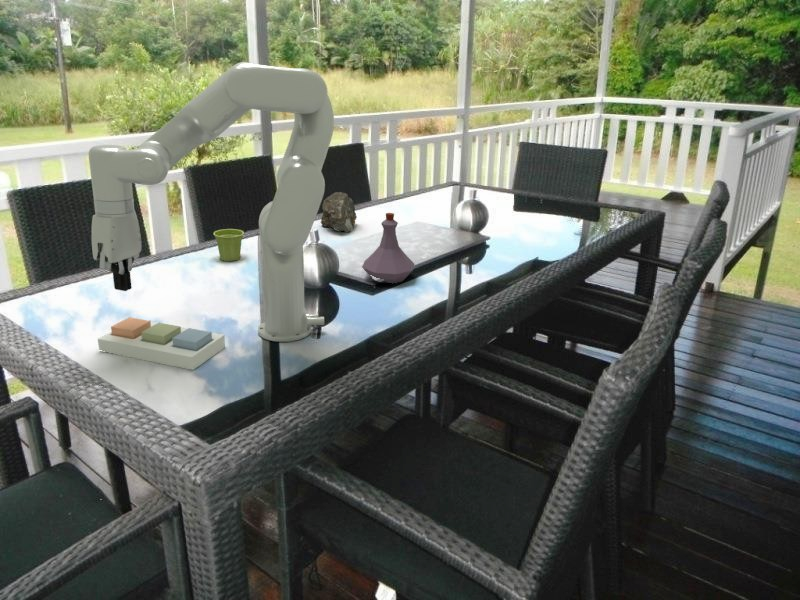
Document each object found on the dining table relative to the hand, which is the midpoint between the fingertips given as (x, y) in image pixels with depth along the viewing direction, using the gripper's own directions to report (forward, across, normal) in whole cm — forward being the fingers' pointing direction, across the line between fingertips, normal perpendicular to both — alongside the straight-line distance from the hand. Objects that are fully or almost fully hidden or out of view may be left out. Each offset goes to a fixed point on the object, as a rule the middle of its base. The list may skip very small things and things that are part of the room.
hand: (123, 288), depth 137 cm
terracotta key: (+11, 0, +1) cm, 11 cm away
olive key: (+10, 0, +9) cm, 14 cm away
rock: (+12, -113, +2) cm, 114 cm away
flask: (+12, -66, +39) cm, 77 cm away
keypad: (+13, 0, +9) cm, 16 cm away
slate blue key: (+10, 0, +17) cm, 20 cm away
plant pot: (+13, -64, -14) cm, 66 cm away
